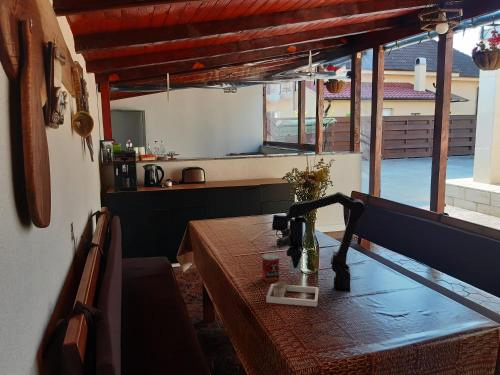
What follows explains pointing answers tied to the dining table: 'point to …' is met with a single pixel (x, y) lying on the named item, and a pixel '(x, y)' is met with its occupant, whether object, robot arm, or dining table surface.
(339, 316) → the dining table surface
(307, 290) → the tray
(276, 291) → the maple block
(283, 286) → the maple block
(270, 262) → the canned food
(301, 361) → the dining table surface
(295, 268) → the block teal
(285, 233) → the coffee mug
